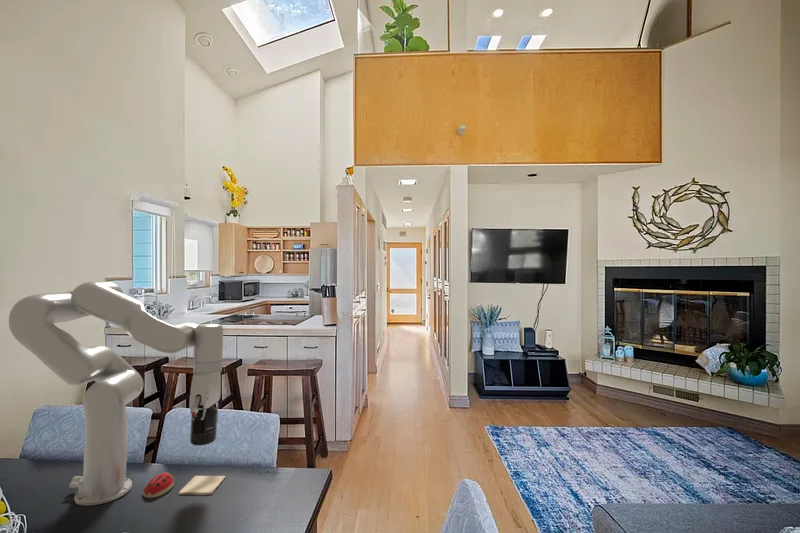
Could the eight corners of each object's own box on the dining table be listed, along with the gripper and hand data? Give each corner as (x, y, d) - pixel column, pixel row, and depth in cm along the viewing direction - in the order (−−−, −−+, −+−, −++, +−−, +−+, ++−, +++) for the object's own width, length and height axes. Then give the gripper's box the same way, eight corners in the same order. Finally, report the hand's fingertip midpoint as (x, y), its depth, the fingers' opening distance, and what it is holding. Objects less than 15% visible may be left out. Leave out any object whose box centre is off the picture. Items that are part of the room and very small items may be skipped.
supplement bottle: (205, 447, 107) (207, 404, 107) (184, 444, 108) (185, 402, 109) (221, 437, 114) (223, 396, 114) (201, 435, 115) (203, 395, 116)
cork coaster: (178, 494, 106) (178, 492, 106) (194, 477, 115) (195, 475, 115) (211, 494, 106) (211, 492, 106) (225, 477, 115) (225, 475, 115)
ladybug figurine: (179, 481, 113) (179, 468, 114) (163, 500, 104) (163, 486, 104) (154, 482, 112) (155, 469, 113) (136, 501, 103) (137, 487, 103)
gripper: (208, 360, 120) (206, 417, 120) (178, 373, 103) (175, 441, 102) (232, 360, 121) (230, 417, 120) (206, 374, 103) (204, 441, 103)
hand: (205, 427), depth 111 cm, fingers closed on supplement bottle, 6 cm apart
